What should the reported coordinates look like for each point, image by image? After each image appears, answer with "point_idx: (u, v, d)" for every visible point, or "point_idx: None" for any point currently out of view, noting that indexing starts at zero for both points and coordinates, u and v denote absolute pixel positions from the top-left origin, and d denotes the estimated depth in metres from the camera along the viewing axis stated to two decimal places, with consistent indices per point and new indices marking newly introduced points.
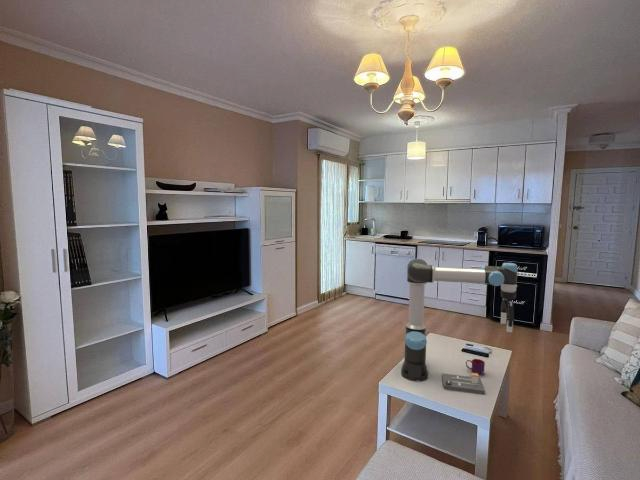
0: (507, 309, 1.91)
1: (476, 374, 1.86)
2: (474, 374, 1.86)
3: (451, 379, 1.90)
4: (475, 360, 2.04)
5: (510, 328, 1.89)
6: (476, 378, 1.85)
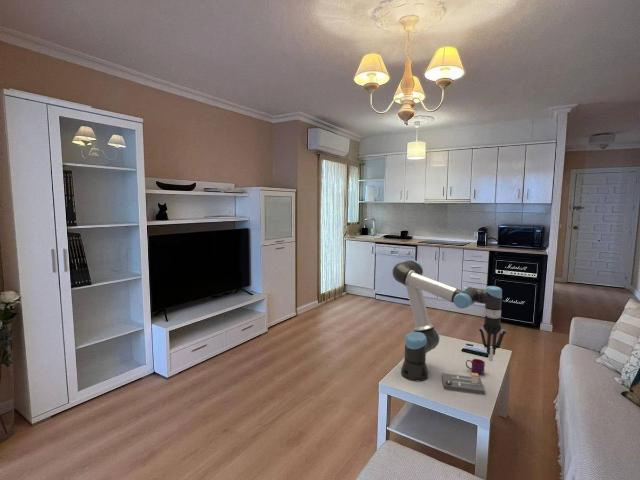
0: (487, 335, 1.83)
1: (476, 374, 1.86)
2: (474, 374, 1.86)
3: (451, 379, 1.90)
4: (475, 360, 2.04)
5: (489, 356, 1.83)
6: (476, 378, 1.85)
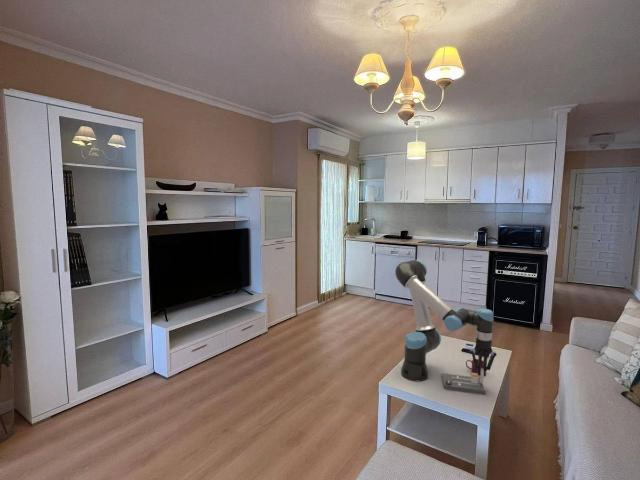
0: (478, 357, 1.86)
1: (476, 374, 1.86)
2: (474, 374, 1.86)
3: (451, 379, 1.90)
4: None
5: (480, 377, 1.85)
6: (476, 378, 1.85)
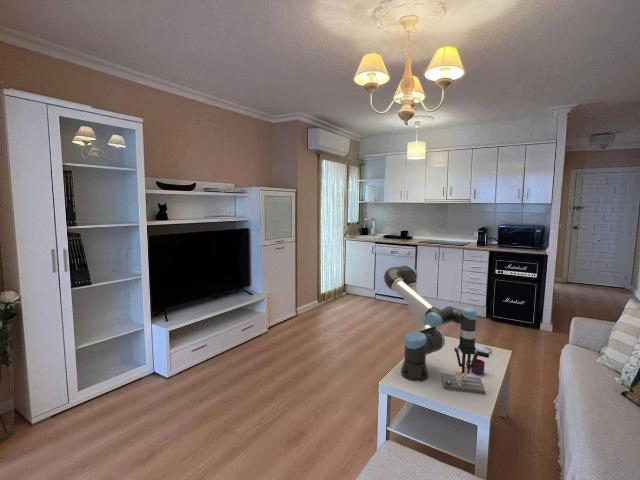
0: (462, 355, 1.88)
1: (460, 372, 1.88)
2: (458, 372, 1.88)
3: (451, 379, 1.90)
4: None
5: (464, 375, 1.87)
6: (460, 376, 1.87)
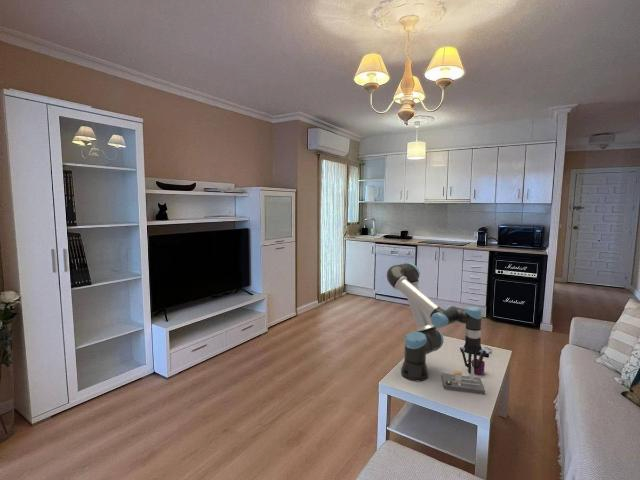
0: (468, 355, 1.86)
1: (459, 372, 1.88)
2: (457, 372, 1.88)
3: (451, 379, 1.90)
4: None
5: (470, 375, 1.86)
6: (459, 376, 1.87)
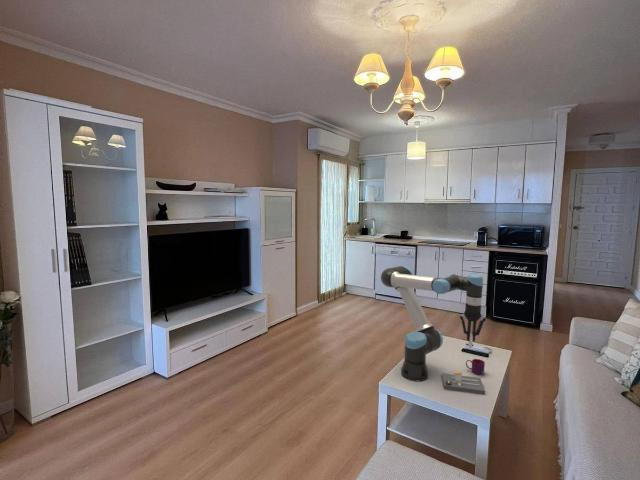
0: None
1: (459, 372, 1.88)
2: (457, 372, 1.88)
3: (451, 379, 1.90)
4: (475, 360, 2.04)
5: (469, 343, 1.86)
6: (459, 376, 1.87)
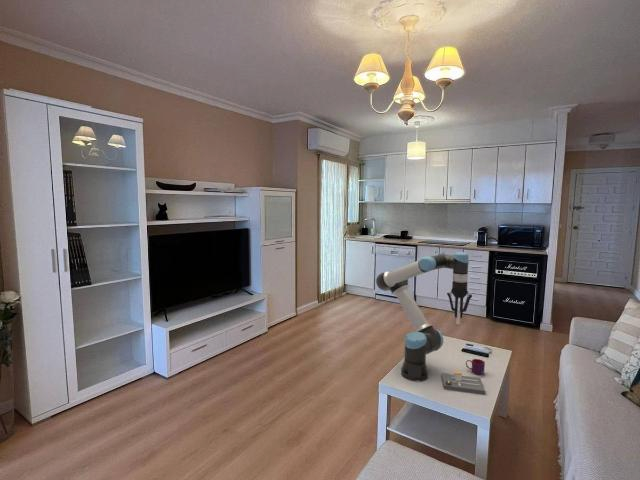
0: (455, 299, 1.91)
1: (459, 372, 1.88)
2: (457, 372, 1.88)
3: (451, 379, 1.90)
4: (475, 360, 2.04)
5: (456, 319, 1.90)
6: (459, 376, 1.87)
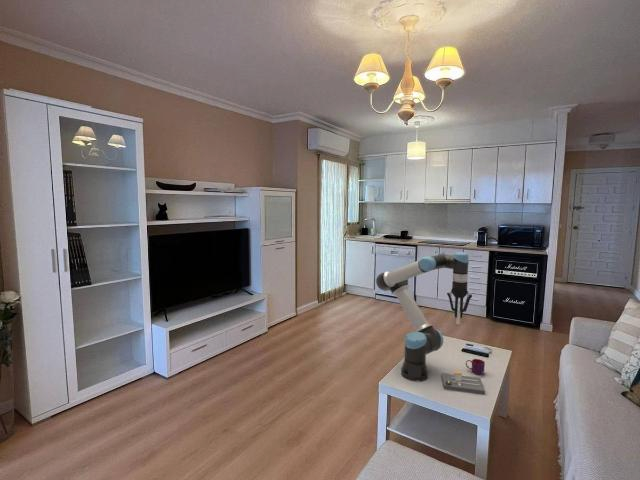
0: (455, 299, 1.91)
1: (459, 372, 1.88)
2: (457, 372, 1.88)
3: (451, 379, 1.90)
4: (475, 360, 2.04)
5: (456, 319, 1.90)
6: (459, 376, 1.87)
